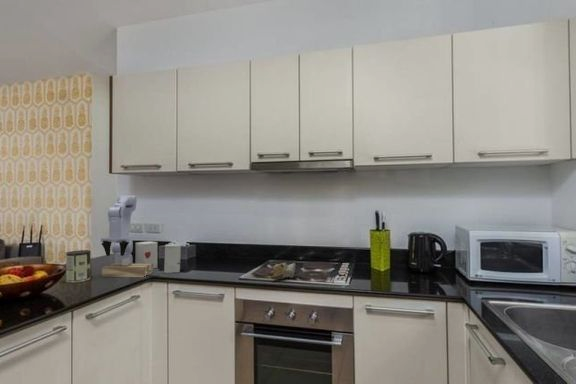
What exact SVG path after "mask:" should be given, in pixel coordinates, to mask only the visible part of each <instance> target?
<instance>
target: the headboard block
mask: <svg viewBox="0 0 576 384" xmlns="http://www.w3.org/2000/svg"><path fill="white" fill-rule="evenodd" d="M153 273H154V268H153V263H134V262H132V263H130V265H129V266H126V267H122V263H110V264H108V265H105V266H101V278H145V277H147V276H149V275H151V274H153ZM146 275H147V276H146ZM144 276H145V277H144Z"/></svg>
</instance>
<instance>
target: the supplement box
mask: <svg viewBox="0 0 576 384" xmlns="http://www.w3.org/2000/svg"><path fill="white" fill-rule="evenodd" d="M135 263H153V269H157V268H158V241H140V242H135Z"/></svg>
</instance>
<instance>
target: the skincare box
mask: <svg viewBox="0 0 576 384" xmlns="http://www.w3.org/2000/svg"><path fill="white" fill-rule="evenodd" d="M181 247H182V245H181V243H180V244H177V243H176V244H169V243H168V244H165V246H164V266H163V267H164V269H163V273H164V274H170V273H171V274H172V273H180V272H181V271H180V270H181V253H182V252H181V250H182V248H181Z"/></svg>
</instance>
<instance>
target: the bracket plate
mask: <svg viewBox="0 0 576 384" xmlns="http://www.w3.org/2000/svg"><path fill="white" fill-rule="evenodd" d="M129 265H130V257H125V258H122V267H126V266H129Z"/></svg>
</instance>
